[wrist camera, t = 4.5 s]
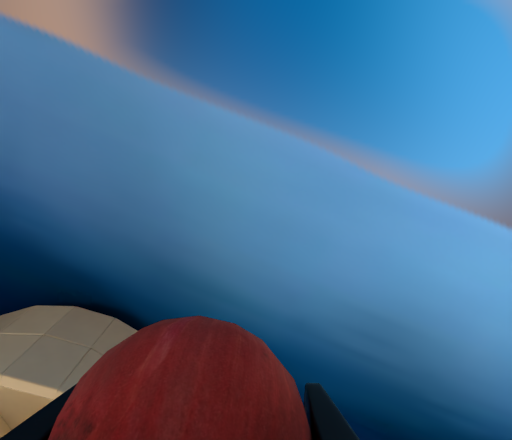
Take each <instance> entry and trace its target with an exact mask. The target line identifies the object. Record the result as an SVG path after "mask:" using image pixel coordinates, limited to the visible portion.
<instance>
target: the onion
mask: <svg viewBox="0 0 512 440" xmlns="http://www.w3.org/2000/svg"><path fill="white" fill-rule="evenodd" d="M48 440H313V438H312V434H311V431H310V427H309V424H308V420H307V416H306V413H305V409H304V406H303V403H302V400H301V398H300V395H299V392H298V389H297V386H296V383H295V380H294V379H293V377H292V376H291V375H290V374H289V372H288V371H287V370H286V369H285V367H284V366H283V365H282V364H281V363H280V361H279V360H278V359H277V358H276V356H275V355H274V354H273V353H272V351H271V350H270V349H269V348H268V346H267V345H266V344H265V343H264V342H263V340H261V339H260V338H258V337H256V336H255V335H253V334H251V333H250V332H248V331H246V330H245V329H243V328H241V327H240V326H238V325H236V324H234V323H230V322H226V321H221V320H217V319H212V318H208V317H203V316H192V317H184V318H176V319H167V320H162V321H159V322H157V323H154V324H152V325H149V326H147V327H144V328H142V329H140V330H139V331H137V332H136V333H134V334H133V335H131V336H130V337H128V338H127V339H125V340H123V341H122V342H120V343H119V344H117V345H116V346H114V347H113V348H111V349H109V350H108V351H107V352H106V353H105V354H104V355H103V356H102V357H101V358H100V359H99V360H98V361H97V362H96V363H95V364H94V365H93V366H92V367H91V368H90V369H89V370H88V371H87V372H86V373H85V374H84V375H83V376H82V377H81V378H80V380H79V381H78V383H77V385H76V386H75V388H74V390H73V391H72V393H71V395H70V396H69V398H68V400H67V401H66V403H65V405H64V407H63V408H62V410H61V412H60V413H59V415H58V417H57V419H56V421H55V424H54V426H53V429H52V431H51V433H50V436H49V438H48Z"/></svg>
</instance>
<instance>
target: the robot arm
mask: <svg viewBox="0 0 512 440" xmlns="http://www.w3.org/2000/svg"><path fill="white" fill-rule="evenodd" d="M76 385H77V384H75V385H74V386H72V387H71V388H70V389H68V390H67V391H65V392H64V393H63V394H61V395H60V396H58V397H57V398H56V399H54V400H53V401H51V402H50V403H49V404H47V405H46V406H44V407H43V408H42V409H40V410H39V411H37V412H36V413H35V414H33V415H32V416H30V417H29V418H28V419H26V420H25V421H23V422H22V423H21V424H19V425H18V426H16V427H15V428H14V429H12V430H11V431H10V432H8V433H7V434H5V435H4V436H3V437H1V438H0V440H48V438H49V436H50V433H51V431H52V429H53V426H54V424H55V421H56V419H57V417H58V415H59V413H60V412H61V410H62V408H63V407H64V405H65V403H66V401H67V400H68V398H69V396H70V395H71V393H72V391H73V390H74V388H75V386H76ZM304 409H305V413H306V416H307V420H308V424H309V427H310V431H311V434H312V438H313V440H360V439H359V438H358V437H357V435H356V434H355V432H354V431H353V429H352V428H351V427H350V425H349V424H348V422H347V421H346V420H345V418H344V417H343V415H342V414H341V413H340V411H339V410H338V408H337V407H336V405H335V404H334V403H333V401H332V400H331V398H330V397H329V396H328V394H327V393H326V391H325V390H324V388H323V387H322V386H321V385H320V384H319V383H306V384H305V392H304Z"/></svg>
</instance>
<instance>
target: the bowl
mask: <svg viewBox="0 0 512 440" xmlns="http://www.w3.org/2000/svg"><path fill="white" fill-rule="evenodd" d="M136 332H137V330H135V329H134V328H132V327H130V326H129V325H127V324H125V323H124V322H122V321H120V320H119V319H117V318H114V317H111V316H108V315H104V314H101V313H97V312H94V311H90V310H87V309H83V308H80V307H77V306H44V305H36V306H32V307H28V308H25V309H21V310H18V311H14V312H11V313H8V314H4V315H1V316H0V438H1V437H3V436H4V435H5V434H7V433H8V432H10V431H11V430H12V429H14V428H15V427H16V426H18V425H19V424H21V423H22V422H23V421H25V420H26V419H28V418H29V417H30V416H32V415H33V414H35V413H36V412H37V411H39V410H40V409H42V408H43V407H44V406H46V405H47V404H49V403H50V402H51V401H53V400H54V399H56V398H57V397H58V396H60V395H61V394H63V393H64V392H65V391H67V390H68V389H70V388H71V387H72V386H74V385H75V384H77V383H78V381H79V380H80V378H81V377H82V376H83V375H84V374H85V373H86V372H87V371H88V370H89V369H90V368H91V367H92V366H93V365H94V364H95V363H96V362H97V361H98V360H99V359H100V358H101V357H102V356H103V355H104V354H105V353H106V352H107V351H108V350H109V349H111V348H113V347H114V346H116V345H117V344H119V343H120V342H122V341H123V340H125V339H127V338H128V337H130V336H131V335H133V334H134V333H136Z"/></svg>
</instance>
